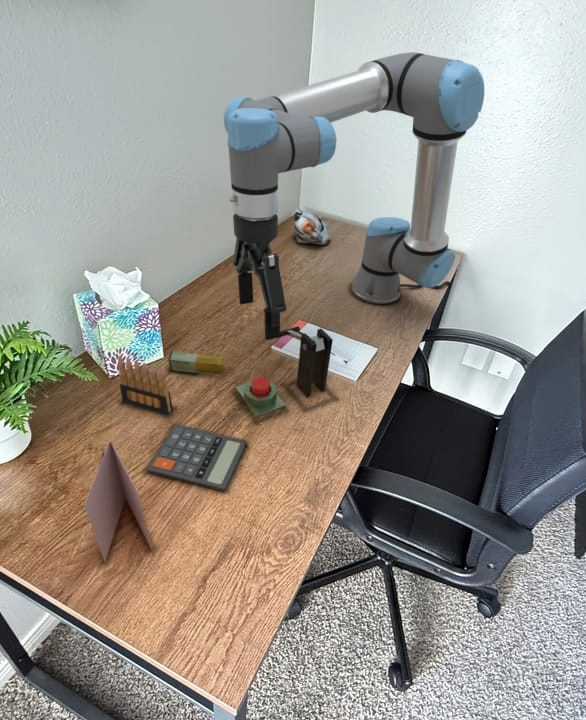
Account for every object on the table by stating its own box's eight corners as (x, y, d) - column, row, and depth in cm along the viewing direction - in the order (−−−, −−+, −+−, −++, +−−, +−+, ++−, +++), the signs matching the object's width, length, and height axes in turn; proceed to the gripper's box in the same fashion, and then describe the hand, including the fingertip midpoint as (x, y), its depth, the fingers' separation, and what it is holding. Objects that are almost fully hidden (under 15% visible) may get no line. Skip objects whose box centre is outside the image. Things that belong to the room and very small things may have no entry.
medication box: (169, 371, 106) (167, 358, 104) (173, 363, 108) (170, 350, 106) (221, 376, 107) (220, 364, 104) (224, 368, 108) (223, 355, 106)
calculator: (175, 423, 93) (246, 440, 91) (175, 426, 94) (246, 443, 92) (146, 468, 84) (224, 488, 82) (146, 471, 84) (224, 491, 83)
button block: (235, 393, 103) (235, 379, 101) (263, 383, 106) (263, 370, 104) (256, 422, 97) (256, 408, 94) (285, 411, 100) (286, 397, 98)
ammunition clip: (173, 409, 97) (167, 365, 90) (168, 415, 96) (162, 371, 88) (127, 396, 99) (118, 352, 91) (122, 401, 97) (112, 357, 90)
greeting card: (120, 497, 80) (104, 439, 71) (164, 498, 81) (154, 441, 71) (98, 561, 71) (77, 505, 62) (148, 562, 72) (134, 506, 62)
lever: (275, 339, 106) (274, 329, 105) (298, 333, 109) (296, 323, 108) (308, 354, 95) (307, 343, 94) (332, 346, 98) (331, 335, 97)
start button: (247, 387, 100) (247, 380, 98) (264, 381, 102) (264, 374, 100) (256, 398, 97) (256, 391, 96) (273, 392, 99) (273, 385, 98)
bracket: (285, 386, 107) (289, 330, 97) (314, 375, 110) (321, 320, 101) (305, 410, 101) (312, 354, 91) (335, 399, 105) (345, 343, 95)
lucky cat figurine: (337, 244, 169) (335, 218, 156) (309, 260, 167) (305, 235, 154) (314, 218, 175) (311, 191, 162) (287, 233, 173) (282, 207, 160)
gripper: (211, 192, 85) (220, 293, 98) (263, 246, 68) (265, 359, 81) (249, 188, 88) (253, 286, 101) (308, 238, 71) (304, 349, 84)
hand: (258, 319), depth 91 cm, fingers open, 13 cm apart
